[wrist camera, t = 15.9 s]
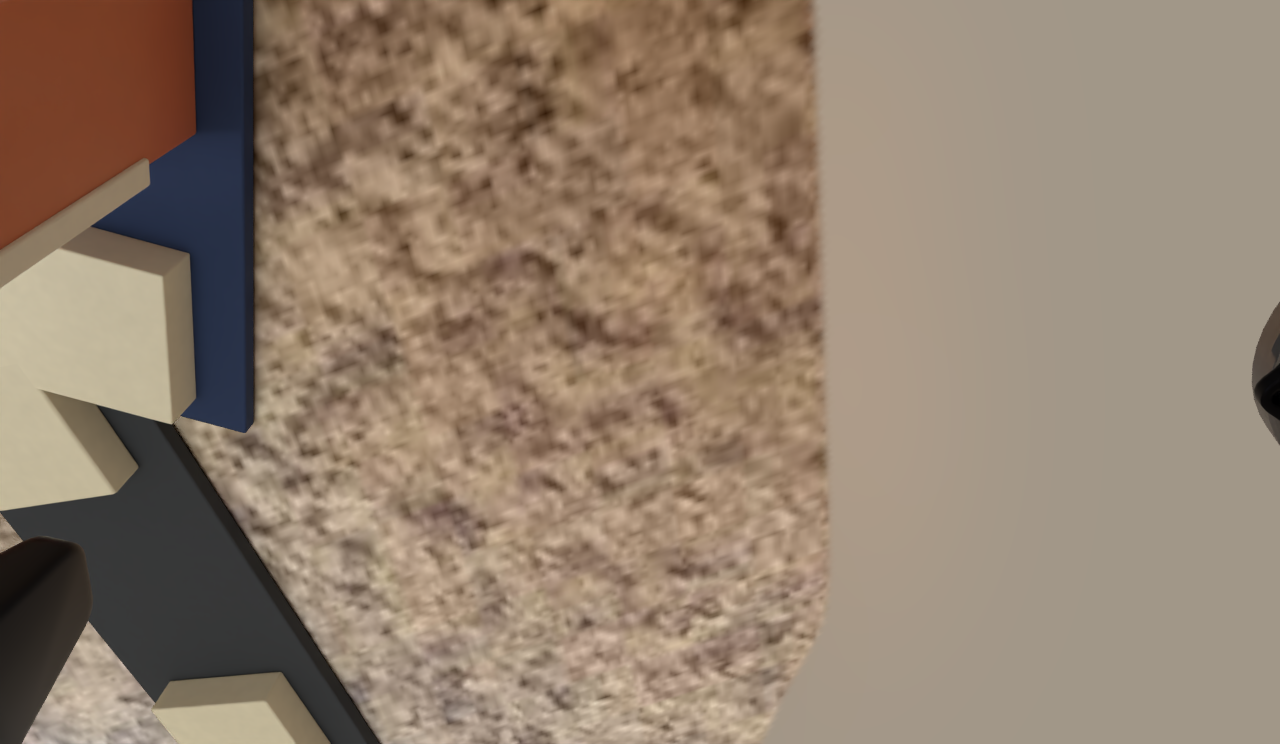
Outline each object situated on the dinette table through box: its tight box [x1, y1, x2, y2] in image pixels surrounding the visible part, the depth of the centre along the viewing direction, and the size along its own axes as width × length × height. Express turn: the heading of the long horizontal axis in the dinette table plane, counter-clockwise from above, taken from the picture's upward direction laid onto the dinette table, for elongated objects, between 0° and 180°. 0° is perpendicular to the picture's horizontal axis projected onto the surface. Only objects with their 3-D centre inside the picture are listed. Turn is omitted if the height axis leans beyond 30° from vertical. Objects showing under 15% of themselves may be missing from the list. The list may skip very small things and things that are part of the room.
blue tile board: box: [0, 0, 253, 433], centre depth 19 cm, size 20×7×2 cm, turn 167°
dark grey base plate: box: [0, 364, 379, 744], centre depth 29 cm, size 22×7×2 cm, turn 15°
